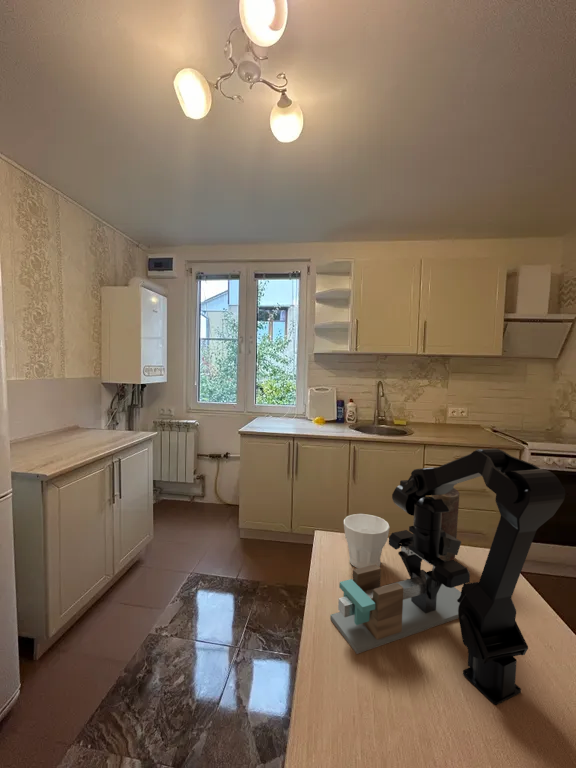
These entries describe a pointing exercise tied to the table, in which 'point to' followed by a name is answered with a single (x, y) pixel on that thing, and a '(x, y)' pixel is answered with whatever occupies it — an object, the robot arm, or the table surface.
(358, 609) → the spacer
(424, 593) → the shaft
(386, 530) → the cup
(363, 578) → the bearing block
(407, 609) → the base board
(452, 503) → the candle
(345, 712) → the table surface
